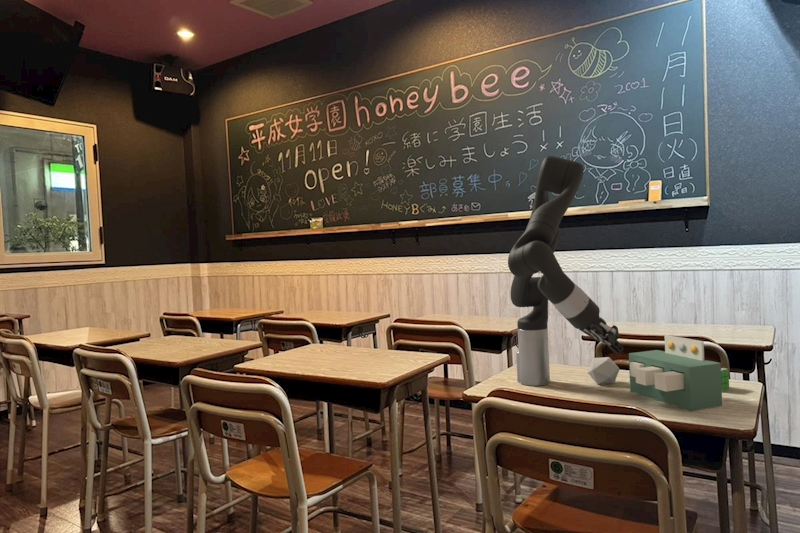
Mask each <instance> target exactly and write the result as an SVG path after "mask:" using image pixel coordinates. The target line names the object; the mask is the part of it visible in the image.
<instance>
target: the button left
mask: <svg viewBox="0 0 800 533" xmlns="http://www.w3.org/2000/svg"><path fill="white" fill-rule="evenodd" d="M644 367H645V363H642V362H630V373H629V377H630V376H633V377H636V373H635V369H636V368H644Z"/></svg>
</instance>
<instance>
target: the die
mask: <svg viewBox="0 0 800 533" xmlns="http://www.w3.org/2000/svg"><path fill="white" fill-rule="evenodd" d="M619 371H620V368H619V366H618V365H617V364H616V363H615V362H614V361H613V359H612V358H611V357H609V356H606V357H592V360H591V363H590V365H589V368H588V372H587V374H588V376H590V378H591V379H592V380H593V381H594V383H595V384H596V385H597V386H598V385H599V386H600V385H615V382H616V380H617V377H618V374H619Z"/></svg>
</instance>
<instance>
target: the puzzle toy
mask: <svg viewBox="0 0 800 533" xmlns="http://www.w3.org/2000/svg"><path fill="white" fill-rule="evenodd" d="M729 369H730V368H726V367H721V381H722V390H723V391H725V389H727V390H729V389H730V376H729V375H730V373H729Z"/></svg>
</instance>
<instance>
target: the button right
mask: <svg viewBox="0 0 800 533" xmlns="http://www.w3.org/2000/svg"><path fill="white" fill-rule="evenodd" d="M654 376H655V389H659V390H662V391H666V392H667V391H674V390H680V389H685V377H684V374H683V373H679V372H675V371H670V372H663V373H655V374H654Z"/></svg>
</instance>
